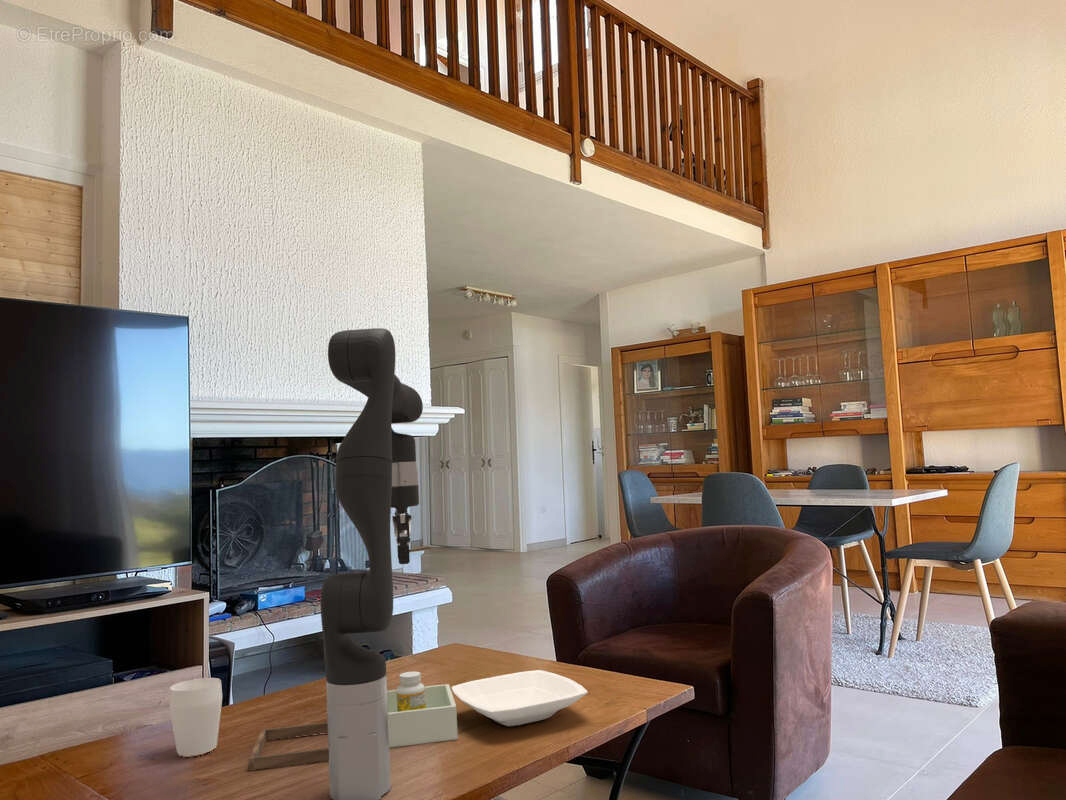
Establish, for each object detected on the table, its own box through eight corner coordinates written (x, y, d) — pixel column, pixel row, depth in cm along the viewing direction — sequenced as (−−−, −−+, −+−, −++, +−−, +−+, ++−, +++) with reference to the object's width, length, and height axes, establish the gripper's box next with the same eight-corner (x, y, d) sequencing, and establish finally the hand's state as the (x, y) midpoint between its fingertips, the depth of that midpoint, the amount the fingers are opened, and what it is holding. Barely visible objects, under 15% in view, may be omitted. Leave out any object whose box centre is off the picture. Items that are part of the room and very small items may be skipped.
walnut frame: (343, 759, 136) (343, 747, 136) (249, 771, 133) (248, 758, 133) (347, 730, 151) (347, 719, 151) (262, 740, 148) (262, 729, 148)
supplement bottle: (430, 726, 148) (428, 674, 149) (403, 732, 145) (401, 679, 146) (420, 719, 152) (418, 668, 153) (394, 725, 150) (392, 673, 151)
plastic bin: (457, 739, 142) (456, 706, 143) (370, 749, 139) (368, 716, 140) (450, 713, 158) (448, 683, 158) (371, 722, 155) (369, 692, 155)
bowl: (442, 715, 157) (441, 686, 158) (545, 694, 168) (544, 667, 168) (486, 748, 137) (485, 714, 138) (600, 722, 148) (598, 691, 148)
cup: (165, 763, 138) (164, 693, 139) (174, 746, 147) (173, 681, 148) (220, 755, 141) (219, 687, 142) (226, 739, 149) (224, 675, 150)
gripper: (420, 483, 160) (423, 564, 158) (416, 482, 174) (420, 556, 172) (382, 485, 158) (385, 567, 157) (382, 484, 172) (385, 559, 171)
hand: (403, 561), depth 165 cm, fingers open, 8 cm apart
